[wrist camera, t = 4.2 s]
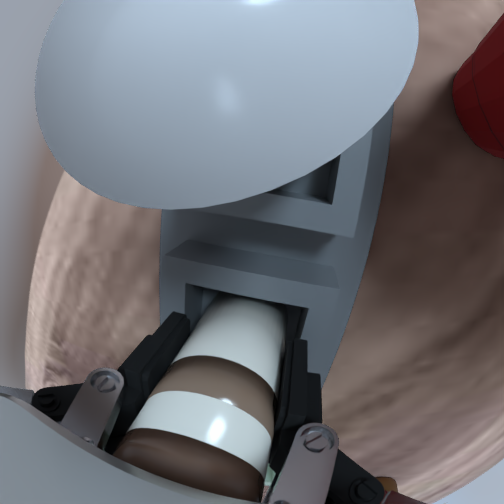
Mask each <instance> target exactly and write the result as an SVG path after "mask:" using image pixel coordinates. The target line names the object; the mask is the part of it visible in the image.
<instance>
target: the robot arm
mask: <svg viewBox="0 0 504 504" xmlns="http://www.w3.org/2000/svg"><path fill="white" fill-rule="evenodd" d="M189 336H190V319H188V318H187V316H186V314H182V313H178V312H175V311H173V312H172V313H171V314H170V315H169V316H168V317H167V319H166V320H165V321H164V322H163V323H162V324H161V326H160V327H159V328H158V329H157V330H156V331H155V333H154V334H153V335H148V336H146V337H145V338H144V340H143V341H142V342H141V343H140V344H139V345H138V346H137V348H136V349H135V350H134V351H133V352H132V353H131V354H130V356H129V357H128V358H127V359H126V360H125V361H124V363H123V364H122V365H121V366H120V367H119V368H118V370H114V369H112V368H99V369H96V370H94V371H92V372H91V373H90V374H89V375H88V377H87V378H86V380H85V382H84V383H81V384H74V385H66V386H57V387H47V388H42V389H40V390H38V391H37V392H36V393H34V391H33V390H27V389H18V388H11V387H4V386H0V504H426V503H423V502H420V501H418V500H415V499H412V498H410V497H407V496H405V495H402V494H400V493H397V492H395V491H393V490H391V491H390V492H388V491H386V490H384V487H383V485H382V483H381V482H380V481H379V480H378V479H376V478H375V477H374V476H372V475H371V474H370V473H368V472H367V471H366V470H364V469H363V468H362V467H360V466H359V465H358V464H356V463H355V462H354V461H353V460H351V459H350V458H349V457H348V456H346V455H345V454H344V453H343V452H341V451H340V450H339V449H338V446H339V438H338V435H337V433H336V432H335V431H334V430H333V429H332V428H330V427H329V426H327V425H324V424H322V398H321V376H320V374H318V373H311V372H308V342H307V340H303V339H297V338H294V339H293V341H288V343H287V346H286V350H285V354H284V358H283V365H282V373H281V381H280V388H279V395H278V405H277V412H276V418H275V425H274V436H273V443H272V447H271V450H270V456H269V462H268V463H269V464H270V465H269V467H270V468H271V469H272V470H273V471H274V472H275V475H274V477H273V480H272V482H271V484H270V486H269V489H268V491H267V493H266V495H265V498H264V500H263V502H262V503H258V502H251V501H246V500H240V499H235V498H231V497H226V496H222V495H217V494H213V493H210V492H206V491H202V490H199V489H195V488H192V487H189V486H185V485H182V484H179V483H176V482H173V481H170V480H168V479H165V478H162V477H160V476H157V475H154V474H152V473H149V472H147V471H145V470H142V469H140V468H138V467H135V466H133V465H131V464H129V463H127V462H124V461H122V460H120V459H118V458H116V457H114V456H112V455H113V453H114V452H115V450H116V448H117V447H118V445H119V444H120V442H121V441H122V439H123V437H124V436H125V434H126V433H127V431H128V430H129V428H130V427H131V425H132V423H133V422H134V420H135V419H136V417H137V416H138V414H139V413H140V411H141V409H142V408H143V406H144V405H145V402H146V400H147V399H148V397H149V396H150V394H151V393H152V391H153V390H154V388H155V387H156V385H157V384H158V382H159V381H160V379H161V377H162V376H163V374H164V373H165V371H166V370H167V368H168V367H169V366H170V365H171V363H172V362H173V360H174V359H175V357H176V356H177V354H178V352H179V351H180V349H181V348H182V346H183V345H184V343H185V342H186V340H187V339H188V337H189Z"/></svg>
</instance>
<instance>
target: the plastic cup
mask: <svg viewBox="0 0 504 504" xmlns="http://www.w3.org/2000/svg"><path fill="white" fill-rule="evenodd" d="M452 96H453V101H454V105H455V110H456V114H457V116H458V118H459V120H460V122H461V124H462V126H463V128H464V131H465V132H466V133H467V134H468V135H469V137H470V138H471V139H472V141H473V142H474V143H475V144H476V145H477V146H479V147H480V148H482V149H483V150H485V151H486V152H488V153H490V154H492V155H493V156H496V157H499V158H503V159H504V13H503V15H502V16H501V17H500V18H499V20H498V21H497V22H496V24H495V25H494V26H493V27H492V29H491V30H490V31H489V32H488V33H487V35H486V36H485V37H484V38H483V40H482V41H481V42H480V43H479V45H478V47H477V48H476V50H475V52H474V53H473V54H472V55H471V56H470V57H469V58H468V59H467V60H466V61H465V62H464V63H463V64H462V66H461V68H460V69H459V71H458V72H457V74H456V77H455V78H454V80H453V91H452Z"/></svg>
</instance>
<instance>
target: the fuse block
mask: <svg viewBox="0 0 504 504" xmlns="http://www.w3.org/2000/svg"><path fill="white" fill-rule="evenodd" d="M393 106H394V102H393V104H392V105H391V107H390V108H389V110H388V111H387V113H386V114H385V115H384V116H383V117H382V118H381V119H380V120H379V121H378V122H377V123H376V124H375V125H374V126H373V127H372V128H371V129H370V130H369V131H368V132H367V133H366V134H365V135H364V136H363V137H362V138H360V139H359V140H358V141H356V142H355V143H354V144H353V145H351V146H350V147H349V148H347V149H346V150H345V151H344V152H342V153H341V154H340V155H338V156H337V157H335V158H334V159H332V160H330V161H329V162H327V163H325V164H323V165H322V166H320V167H318V168H317V169H315V170H313V171H312V172H310V173H308V174H307V175H305V176H302V177H300V178H298V179H295V180H293V181H291V182H289V183H286V184H284V185H282V186H280V187H277V188H275V189H273V190H271V191H267V192H264V193H261V194H257V195H254V196H251V197H248V198H245V199H242V200H238V201H235V202H229V203H224V204H219V205H213V206H208V207H203V208H189V209H174V210H169V209H162V215H161V234H160V272H159V294H160V326H161V324H162V323H163V322H164V321H165V320H166V319H167V317H168V316H169V315H170V314H171V313H172V312H173V311H175V312H178V313H182V314H186V316H187V318H188V319H190V334H191V333H192V331H193V330H194V328H195V326H196V325H197V323H198V322H199V320H200V319H201V317H202V316H203V314H204V313H205V311H206V310H207V308H208V307H209V305H210V304H211V302H212V301H213V299H214V298H215V296H216V295H217V293H218V292H219V291H224V292H229V293H233V294H238V295H243V296H248V297H253V298H258V299H263V300H268V301H273V302H278V303H284V305H285V307H286V310H287V314H288V324H287V333H286V342H285V350H286V346H287V343H288V341H293V339H294V338H297V339H303V340H307V342H308V372H311V373H318V374H320V376H321V389H322V387H323V384H324V382H325V380H326V377H327V375H328V373H329V370H330V368H331V365H332V363H333V360H334V358H335V355H336V353H337V350H338V347H339V345H340V342H341V339H342V337H343V334H344V331H345V328H346V325H347V322H348V320H349V317H350V314H351V311H352V308H353V305H354V301H355V298H356V295H357V292H358V289H359V285H360V282H361V278H362V275H363V271H364V268H365V264H366V261H367V257H368V253H369V249H370V245H371V241H372V237H373V233H374V228H375V224H376V220H377V215H378V210H379V205H380V200H381V195H382V190H383V184H384V179H385V173H386V166H387V160H388V153H389V145H390V137H391V128H392V118H393ZM284 354H285V351H284Z"/></svg>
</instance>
